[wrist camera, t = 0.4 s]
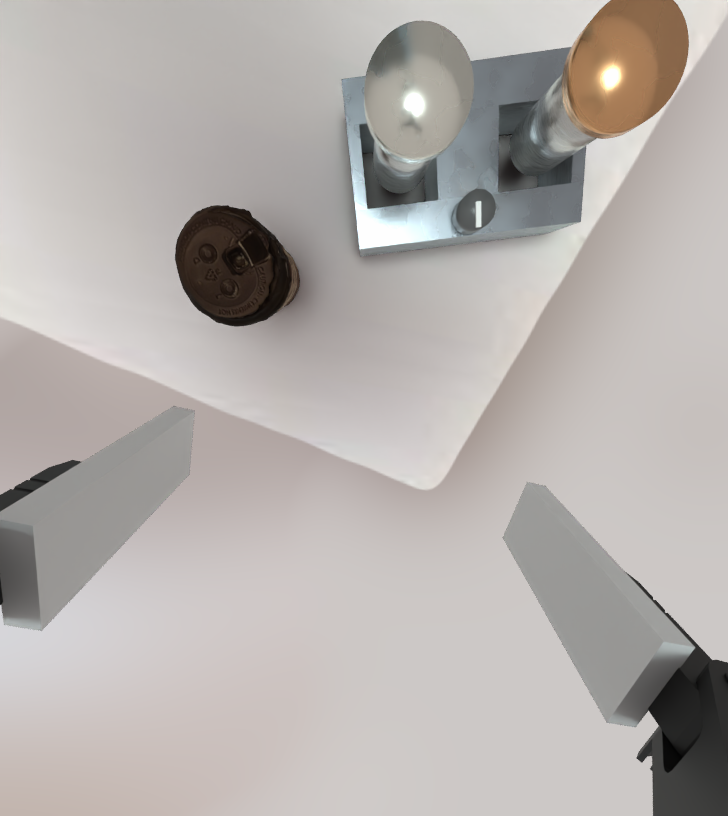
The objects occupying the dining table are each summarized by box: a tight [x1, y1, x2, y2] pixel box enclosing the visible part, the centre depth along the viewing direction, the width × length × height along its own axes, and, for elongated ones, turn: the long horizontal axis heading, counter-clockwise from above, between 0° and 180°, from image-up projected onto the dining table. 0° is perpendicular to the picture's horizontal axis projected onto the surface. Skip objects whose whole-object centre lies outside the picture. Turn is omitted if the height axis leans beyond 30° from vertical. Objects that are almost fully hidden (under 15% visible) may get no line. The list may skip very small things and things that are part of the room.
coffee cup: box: [175, 205, 300, 326], centre depth 30 cm, size 9×8×13 cm
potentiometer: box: [452, 189, 496, 234], centre depth 28 cm, size 3×3×3 cm
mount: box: [342, 47, 586, 257], centre depth 31 cm, size 12×19×6 cm, turn 96°
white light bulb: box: [364, 21, 474, 193], centre depth 23 cm, size 6×6×10 cm
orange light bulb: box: [510, 0, 689, 176], centre depth 23 cm, size 6×6×10 cm
